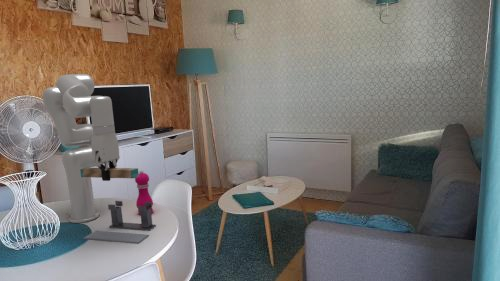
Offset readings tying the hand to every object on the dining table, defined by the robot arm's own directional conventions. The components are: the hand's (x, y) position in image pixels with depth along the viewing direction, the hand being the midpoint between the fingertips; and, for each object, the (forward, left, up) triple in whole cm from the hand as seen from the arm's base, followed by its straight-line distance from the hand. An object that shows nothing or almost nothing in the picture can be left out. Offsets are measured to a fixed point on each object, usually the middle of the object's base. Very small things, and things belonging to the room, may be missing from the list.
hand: (109, 178), depth 143 cm
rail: (0, 0, +1) cm, 1 cm away
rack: (0, +10, -23) cm, 25 cm away
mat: (0, 0, -23) cm, 23 cm away
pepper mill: (-4, +26, -23) cm, 35 cm away
